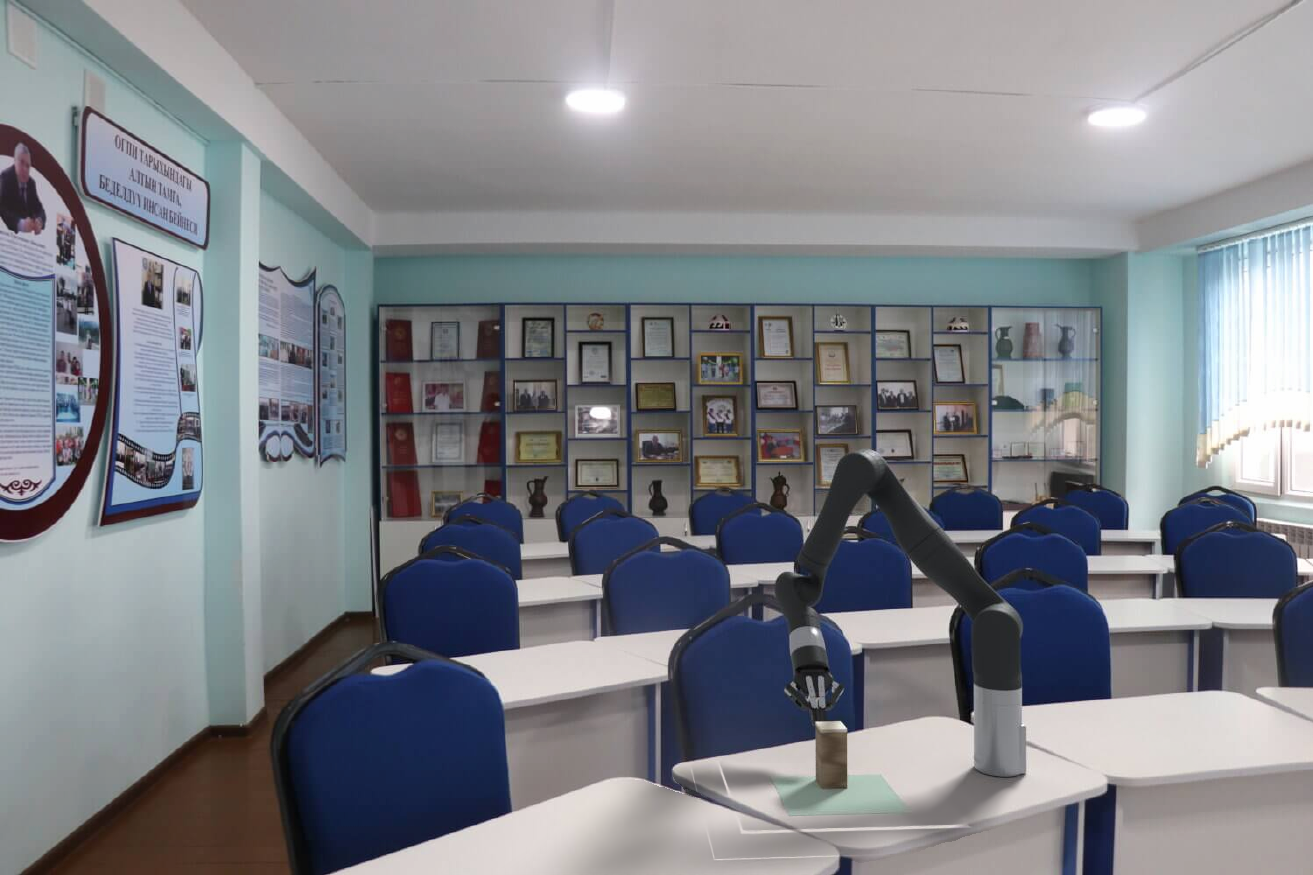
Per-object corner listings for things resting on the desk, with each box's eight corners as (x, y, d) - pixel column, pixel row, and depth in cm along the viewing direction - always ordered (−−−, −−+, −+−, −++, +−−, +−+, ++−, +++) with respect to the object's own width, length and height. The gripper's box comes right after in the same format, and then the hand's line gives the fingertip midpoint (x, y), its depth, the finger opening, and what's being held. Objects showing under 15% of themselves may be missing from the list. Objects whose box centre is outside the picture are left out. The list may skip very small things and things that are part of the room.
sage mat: (880, 776, 192) (880, 774, 192) (911, 814, 173) (911, 812, 173) (770, 779, 191) (770, 777, 191) (789, 818, 172) (789, 815, 172)
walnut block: (840, 778, 189) (840, 720, 189) (847, 788, 184) (847, 728, 184) (815, 779, 189) (815, 721, 189) (821, 789, 184) (821, 729, 184)
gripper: (780, 643, 204) (790, 719, 192) (841, 643, 205) (856, 718, 193) (775, 662, 209) (785, 737, 197) (835, 662, 210) (849, 736, 198)
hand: (820, 727), depth 195 cm, fingers closed
